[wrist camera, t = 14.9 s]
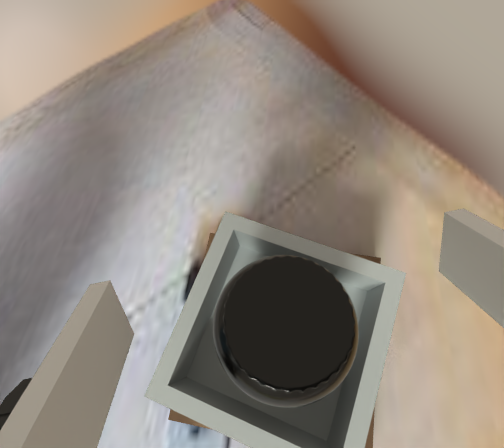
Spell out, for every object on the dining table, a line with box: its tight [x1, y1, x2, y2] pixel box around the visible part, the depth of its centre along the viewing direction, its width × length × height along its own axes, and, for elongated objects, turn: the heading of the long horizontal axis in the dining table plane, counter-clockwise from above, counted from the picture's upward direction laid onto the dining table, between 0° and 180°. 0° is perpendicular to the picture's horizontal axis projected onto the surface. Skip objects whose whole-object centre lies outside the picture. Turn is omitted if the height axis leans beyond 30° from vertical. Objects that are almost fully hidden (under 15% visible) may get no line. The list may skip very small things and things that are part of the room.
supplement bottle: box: [213, 255, 359, 408], centre depth 17 cm, size 7×7×12 cm
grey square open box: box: [145, 212, 406, 448], centre depth 21 cm, size 12×12×6 cm
